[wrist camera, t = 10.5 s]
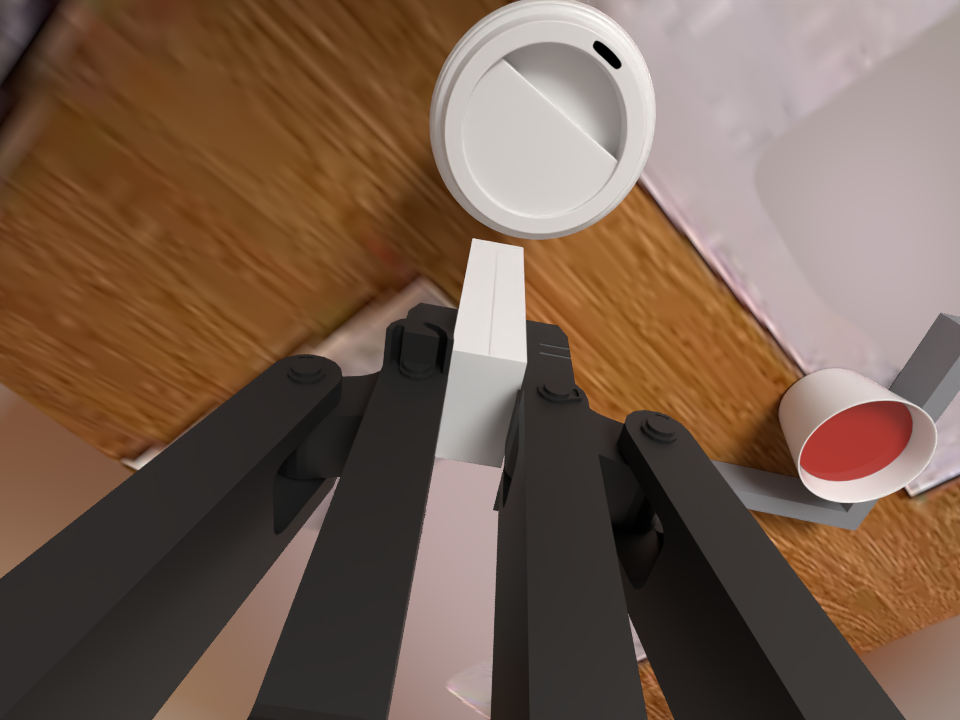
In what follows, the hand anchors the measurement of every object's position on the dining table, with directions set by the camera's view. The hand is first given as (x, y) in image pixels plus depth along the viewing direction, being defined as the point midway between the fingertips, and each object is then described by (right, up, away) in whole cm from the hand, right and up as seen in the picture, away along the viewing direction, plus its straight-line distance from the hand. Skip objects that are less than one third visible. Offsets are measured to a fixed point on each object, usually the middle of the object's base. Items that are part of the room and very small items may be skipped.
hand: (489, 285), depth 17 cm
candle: (+27, -6, +28) cm, 39 cm away
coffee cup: (+3, +14, +19) cm, 23 cm away
